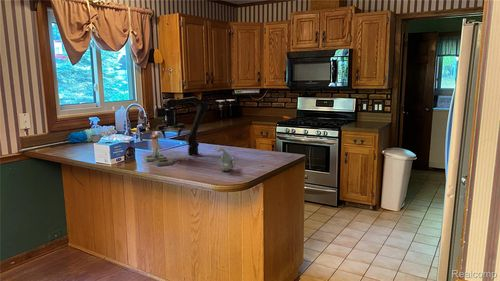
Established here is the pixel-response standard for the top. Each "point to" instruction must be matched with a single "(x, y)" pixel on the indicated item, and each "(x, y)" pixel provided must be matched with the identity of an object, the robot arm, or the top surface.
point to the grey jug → (226, 160)
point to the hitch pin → (155, 146)
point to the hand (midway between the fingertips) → (171, 139)
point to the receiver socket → (163, 162)
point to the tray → (150, 158)
